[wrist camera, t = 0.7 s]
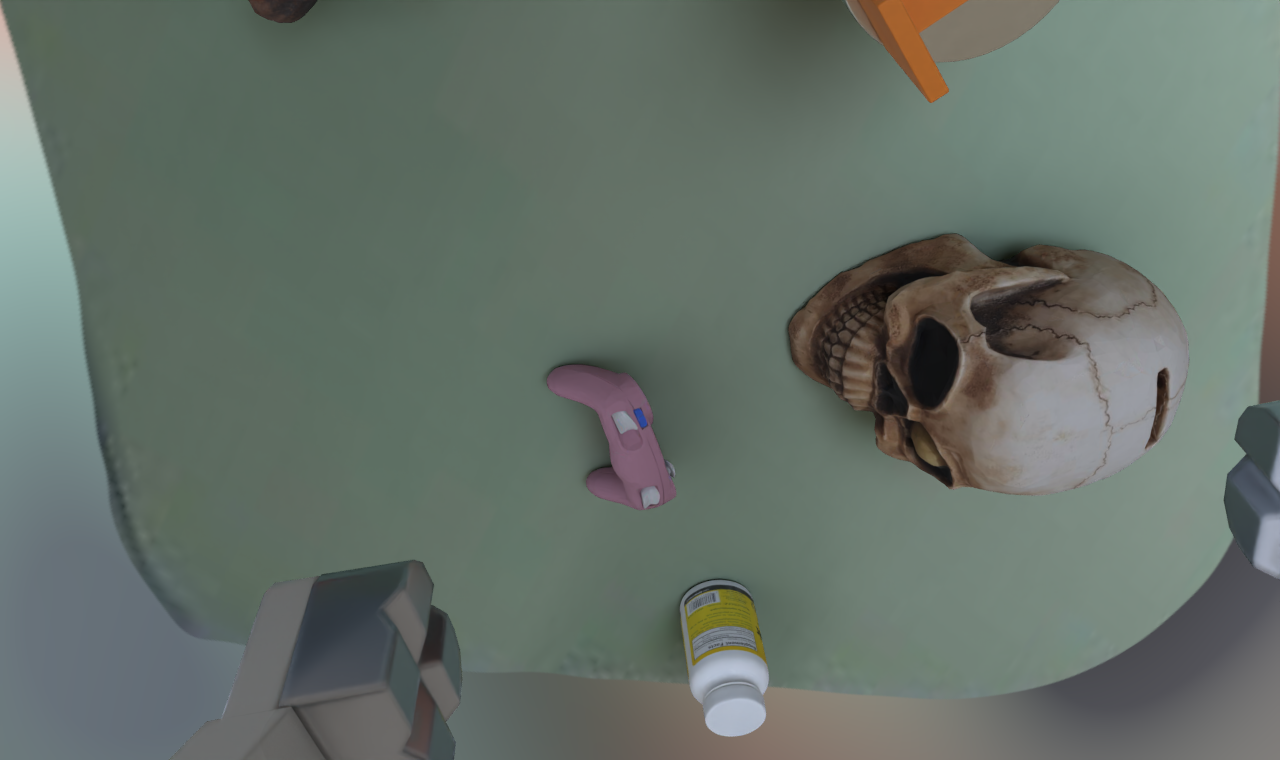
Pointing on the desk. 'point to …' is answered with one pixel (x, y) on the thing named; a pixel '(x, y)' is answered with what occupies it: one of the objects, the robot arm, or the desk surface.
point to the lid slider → (911, 37)
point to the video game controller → (620, 436)
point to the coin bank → (1000, 361)
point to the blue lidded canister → (971, 26)
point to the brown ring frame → (282, 9)
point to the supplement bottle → (725, 656)
